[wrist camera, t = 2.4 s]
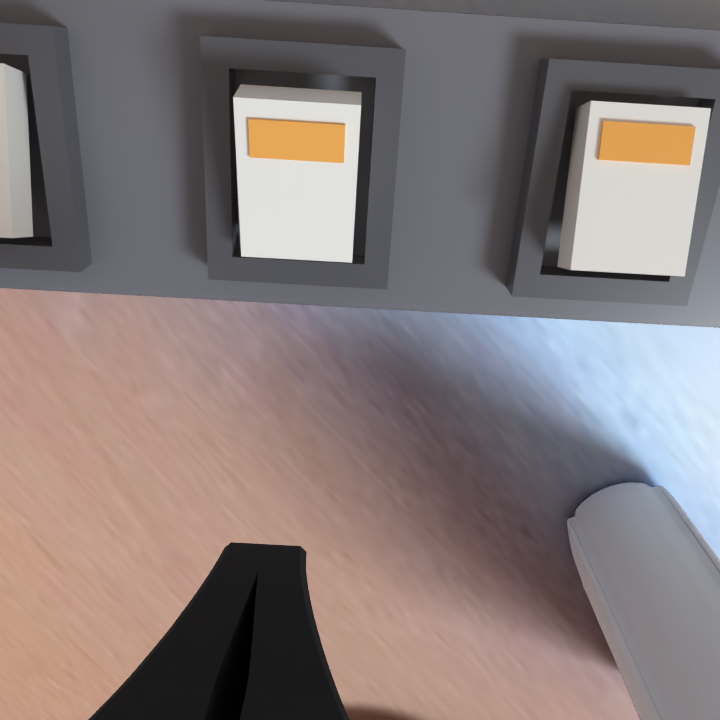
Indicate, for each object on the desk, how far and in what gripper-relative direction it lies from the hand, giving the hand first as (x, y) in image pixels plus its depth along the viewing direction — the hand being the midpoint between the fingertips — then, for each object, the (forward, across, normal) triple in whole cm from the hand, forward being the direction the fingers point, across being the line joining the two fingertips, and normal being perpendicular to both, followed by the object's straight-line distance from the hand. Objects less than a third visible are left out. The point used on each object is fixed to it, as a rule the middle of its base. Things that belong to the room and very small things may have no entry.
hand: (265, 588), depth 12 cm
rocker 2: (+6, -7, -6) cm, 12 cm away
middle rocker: (+6, 0, -6) cm, 9 cm away
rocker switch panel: (+10, -3, -6) cm, 12 cm away
